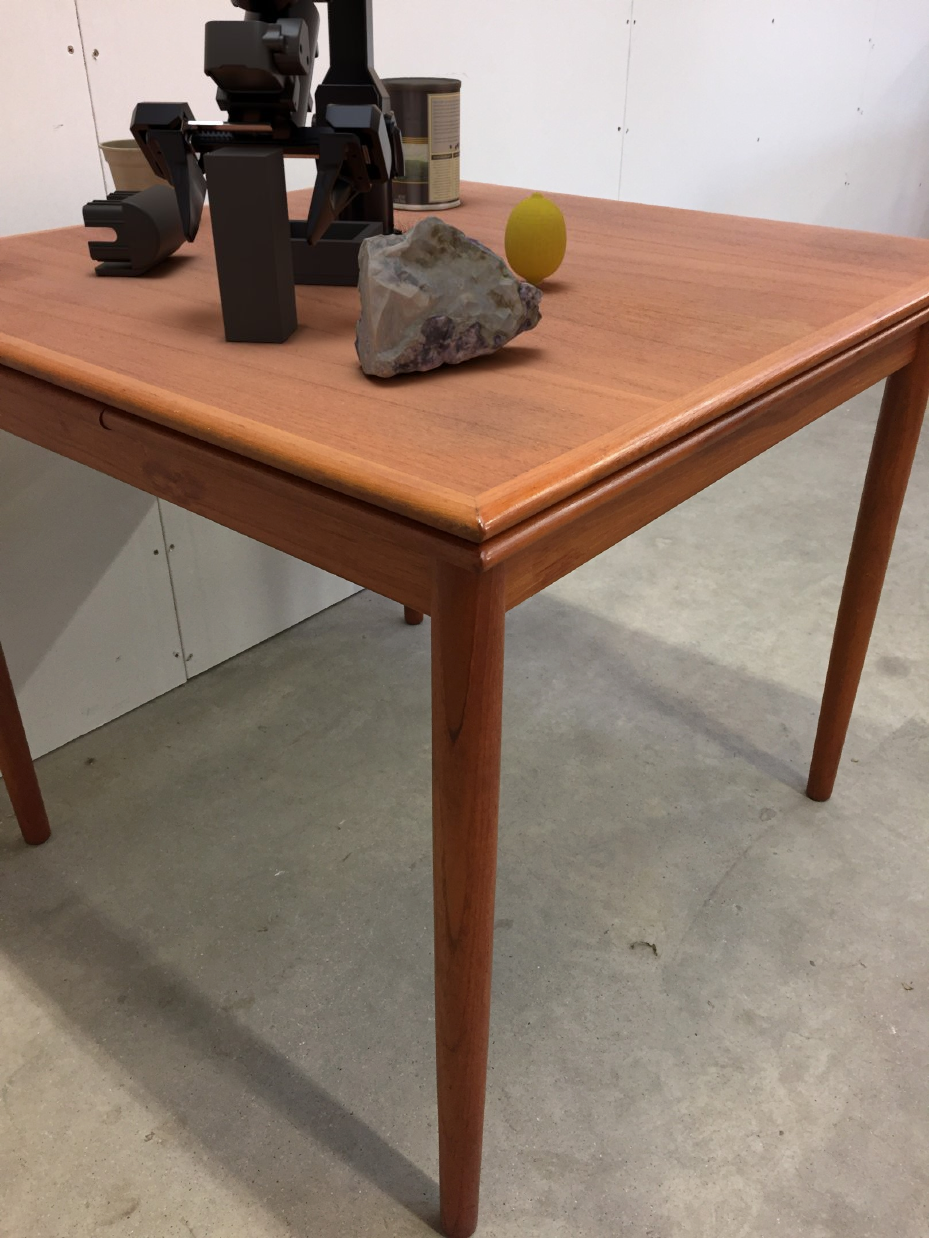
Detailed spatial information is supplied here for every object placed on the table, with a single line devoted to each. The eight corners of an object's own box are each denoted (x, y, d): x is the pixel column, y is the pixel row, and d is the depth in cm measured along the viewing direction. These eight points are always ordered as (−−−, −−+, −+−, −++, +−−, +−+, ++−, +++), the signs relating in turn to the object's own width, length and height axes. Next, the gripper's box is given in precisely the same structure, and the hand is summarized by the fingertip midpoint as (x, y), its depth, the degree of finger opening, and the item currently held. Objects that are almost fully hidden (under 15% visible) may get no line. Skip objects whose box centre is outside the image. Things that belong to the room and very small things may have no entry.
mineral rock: (542, 346, 76) (548, 204, 71) (535, 392, 67) (541, 233, 61) (373, 340, 77) (367, 200, 72) (344, 385, 68) (334, 228, 63)
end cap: (165, 278, 94) (154, 201, 90) (91, 277, 94) (77, 200, 91) (198, 255, 102) (188, 184, 99) (130, 254, 103) (118, 183, 99)
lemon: (570, 282, 93) (575, 189, 89) (555, 296, 89) (560, 199, 84) (513, 277, 95) (515, 186, 90) (495, 291, 90) (497, 195, 86)
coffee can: (388, 212, 124) (384, 83, 116) (375, 199, 132) (369, 77, 125) (470, 209, 126) (470, 82, 118) (451, 196, 134) (450, 76, 127)
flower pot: (212, 222, 118) (203, 141, 113) (151, 236, 111) (138, 150, 107) (156, 214, 122) (144, 136, 118) (94, 227, 115) (79, 144, 111)
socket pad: (287, 259, 101) (283, 219, 99) (384, 262, 100) (382, 222, 98) (256, 282, 93) (251, 239, 91) (362, 286, 92) (360, 242, 90)
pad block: (243, 325, 81) (223, 147, 74) (298, 327, 80) (283, 148, 73) (225, 341, 77) (202, 155, 70) (282, 343, 76) (265, 156, 69)
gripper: (116, -27, 71) (77, 164, 67) (377, -27, 69) (352, 170, 65) (173, 91, 81) (143, 262, 78) (400, 94, 80) (380, 269, 76)
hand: (248, 241), depth 74 cm, fingers open, 9 cm apart
